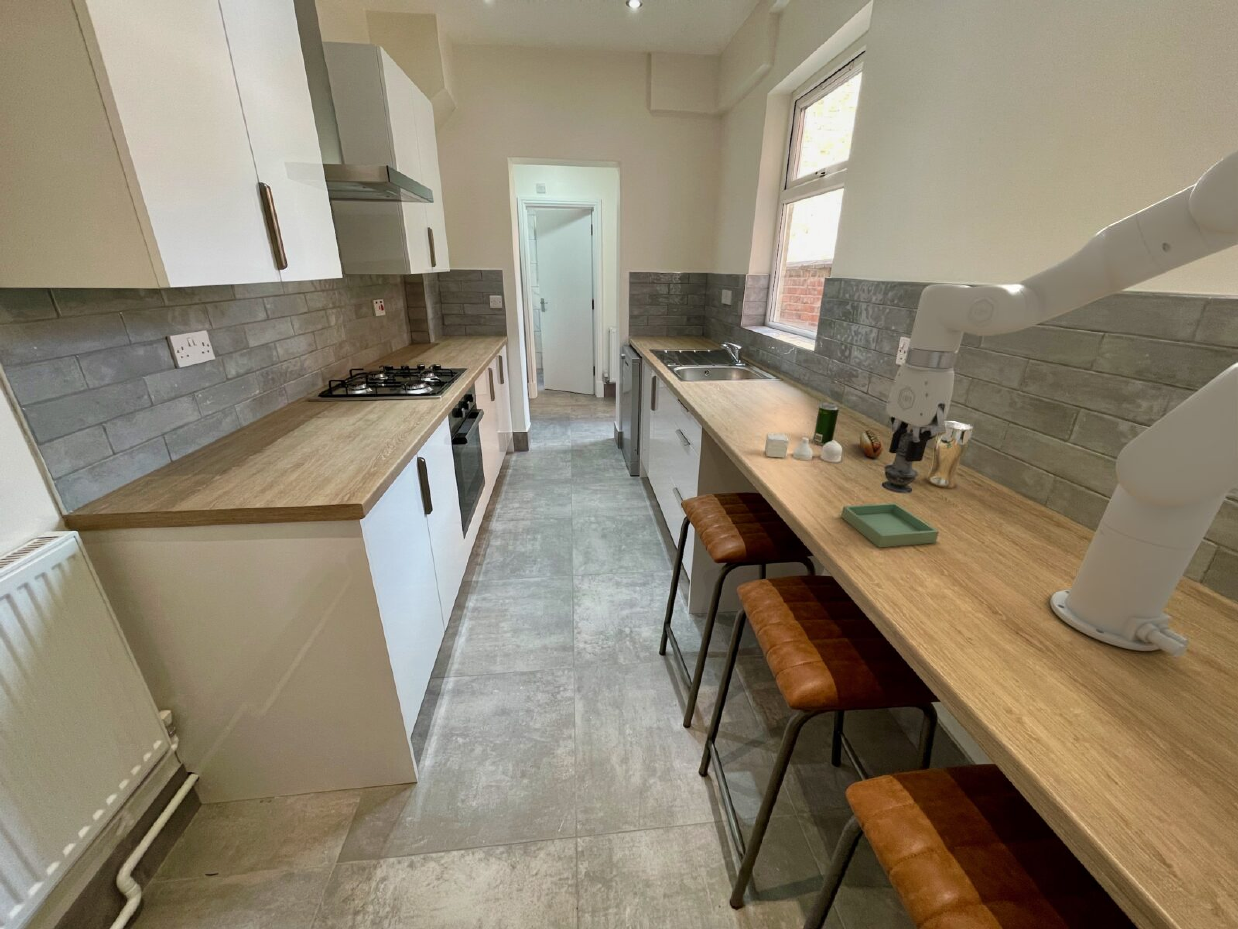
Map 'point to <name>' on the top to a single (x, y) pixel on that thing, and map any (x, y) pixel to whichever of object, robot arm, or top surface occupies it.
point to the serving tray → (889, 525)
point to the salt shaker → (900, 468)
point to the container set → (801, 449)
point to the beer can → (825, 423)
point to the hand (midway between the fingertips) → (905, 455)
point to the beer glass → (949, 453)
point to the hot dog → (871, 443)
